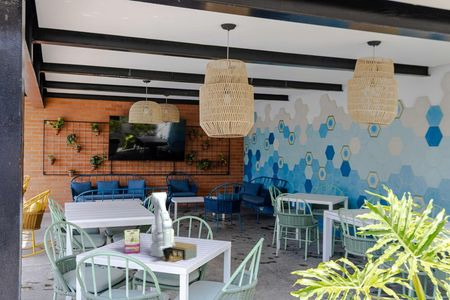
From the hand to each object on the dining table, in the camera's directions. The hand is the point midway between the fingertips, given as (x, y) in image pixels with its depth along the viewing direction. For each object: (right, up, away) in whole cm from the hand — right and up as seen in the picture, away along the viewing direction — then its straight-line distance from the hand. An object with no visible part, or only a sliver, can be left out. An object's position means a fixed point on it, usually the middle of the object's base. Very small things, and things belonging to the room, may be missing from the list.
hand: (167, 259), depth 277 cm
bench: (+8, -2, +13) cm, 15 cm away
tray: (+4, -2, +7) cm, 8 cm away
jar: (-8, -2, +54) cm, 55 cm away
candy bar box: (-28, -2, +24) cm, 37 cm away
